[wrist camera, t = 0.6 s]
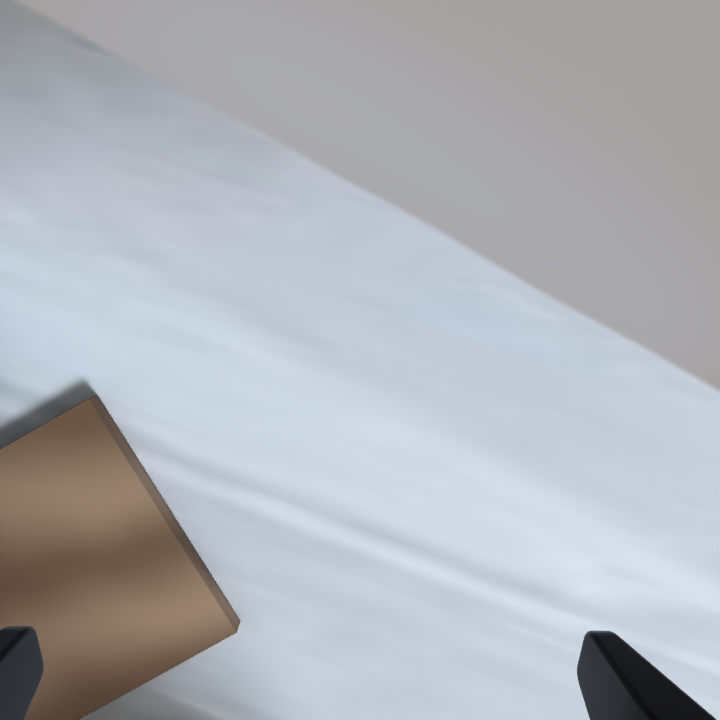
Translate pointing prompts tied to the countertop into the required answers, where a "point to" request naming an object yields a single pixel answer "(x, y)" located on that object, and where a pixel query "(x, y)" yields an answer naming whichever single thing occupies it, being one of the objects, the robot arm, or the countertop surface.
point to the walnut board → (98, 566)
